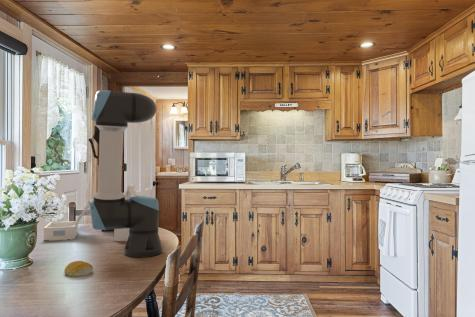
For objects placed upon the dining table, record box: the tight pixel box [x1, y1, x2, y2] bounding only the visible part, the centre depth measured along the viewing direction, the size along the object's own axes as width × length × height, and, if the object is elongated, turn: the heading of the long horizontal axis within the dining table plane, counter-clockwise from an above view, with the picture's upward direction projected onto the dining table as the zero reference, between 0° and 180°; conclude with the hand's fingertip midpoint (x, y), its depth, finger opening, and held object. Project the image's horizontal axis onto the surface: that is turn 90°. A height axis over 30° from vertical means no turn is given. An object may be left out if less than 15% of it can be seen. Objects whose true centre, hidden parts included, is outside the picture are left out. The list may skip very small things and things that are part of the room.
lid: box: [74, 197, 94, 226], centre depth 179 cm, size 16×13×1 cm
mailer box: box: [43, 220, 79, 241], centre depth 176 cm, size 16×13×6 cm
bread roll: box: [63, 260, 94, 278], centre depth 120 cm, size 8×9×4 cm
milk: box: [113, 184, 141, 242], centre depth 174 cm, size 12×12×26 cm
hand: (101, 172), depth 180 cm, fingers closed
